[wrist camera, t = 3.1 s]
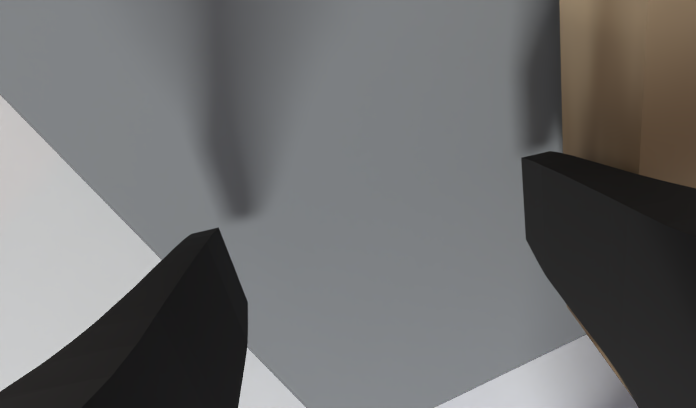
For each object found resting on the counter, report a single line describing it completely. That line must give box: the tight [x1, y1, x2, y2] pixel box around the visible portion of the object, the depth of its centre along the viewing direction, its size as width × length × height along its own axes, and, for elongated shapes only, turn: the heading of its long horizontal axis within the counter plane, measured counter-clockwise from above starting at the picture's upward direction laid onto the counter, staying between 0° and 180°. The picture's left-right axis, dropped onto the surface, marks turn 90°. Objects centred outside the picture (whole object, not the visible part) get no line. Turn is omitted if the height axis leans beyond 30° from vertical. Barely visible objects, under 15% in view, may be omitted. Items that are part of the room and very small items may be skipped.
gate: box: [559, 0, 696, 396], centre depth 10 cm, size 10×1×3 cm, turn 13°
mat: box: [0, 0, 586, 408], centre depth 12 cm, size 15×16×1 cm
